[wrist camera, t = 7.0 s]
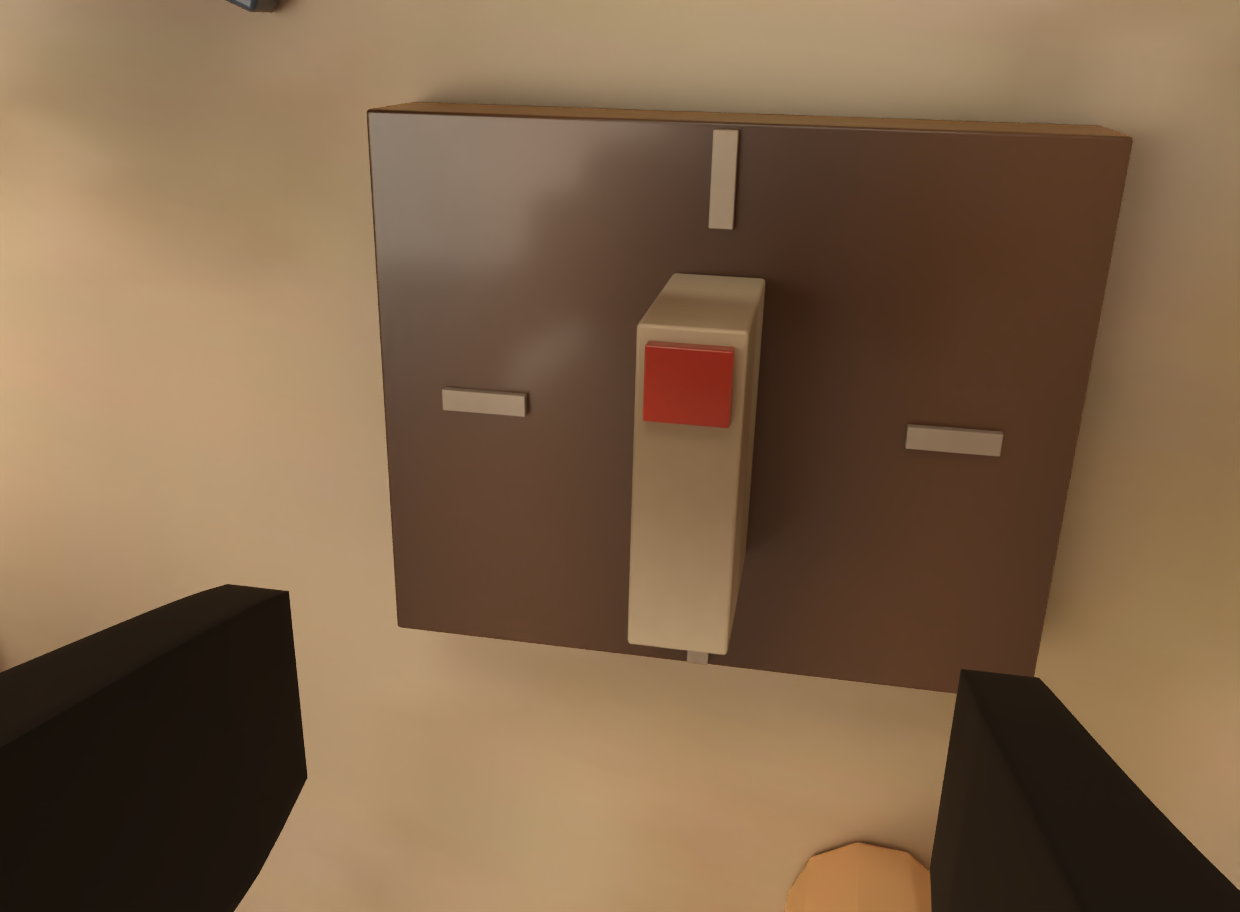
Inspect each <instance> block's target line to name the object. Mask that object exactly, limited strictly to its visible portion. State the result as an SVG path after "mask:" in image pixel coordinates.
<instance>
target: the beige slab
mask: <svg viewBox="0 0 1240 912" xmlns="http://www.w3.org/2000/svg"><path fill="white" fill-rule="evenodd" d="M764 295H765V280H764V279H761V278H744V277H728V276H712V275H696V274H680V273H675V274H673V275H672V277H671V278H670V280H669V281H668V283H667V284H666V285H665V287H664V288H663V290H662V291H661V292H660V294H659V295H658V297H657V298H656V299H655V301H654V302H653V304H652V305H651V307H650V308H649V309H648V311H647V312H646V314H645V315H644V316H643V318H642V319H641V321H640V322H639V324H638V326H637V341H636V375H635V408H634V442H633V476H632V509H631V543H630V576H629V610H628V642H629V643H630V644H637V645H645V646H653V647H662V648H670V649H678V650H687V651H695V652H703V653H712V654H720V655H725V654H726V653H727V651H728V646H729V641H730V636H731V630H732V625H733V620H734V614H735V609H736V603H737V598H738V593H739V587H740V582H741V577H742V571H743V566H744V560H745V555H746V543H747V530H748V516H749V502H750V488H751V475H752V461H753V447H754V433H755V419H756V406H757V392H758V378H759V364H760V350H761V337H762V323H763V309H764Z"/></svg>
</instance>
